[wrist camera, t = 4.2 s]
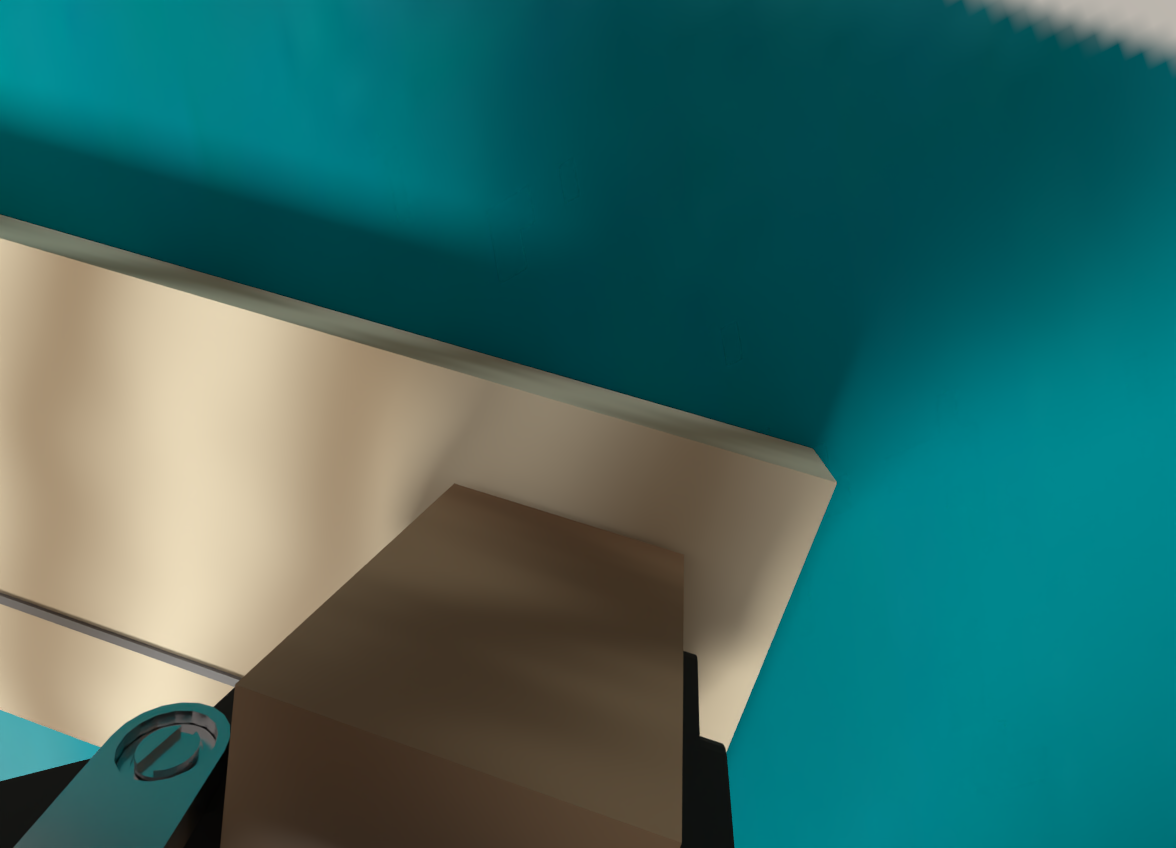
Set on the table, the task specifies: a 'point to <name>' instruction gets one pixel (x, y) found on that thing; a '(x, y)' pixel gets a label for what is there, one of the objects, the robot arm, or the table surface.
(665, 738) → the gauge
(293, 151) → the table surface
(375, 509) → the board
